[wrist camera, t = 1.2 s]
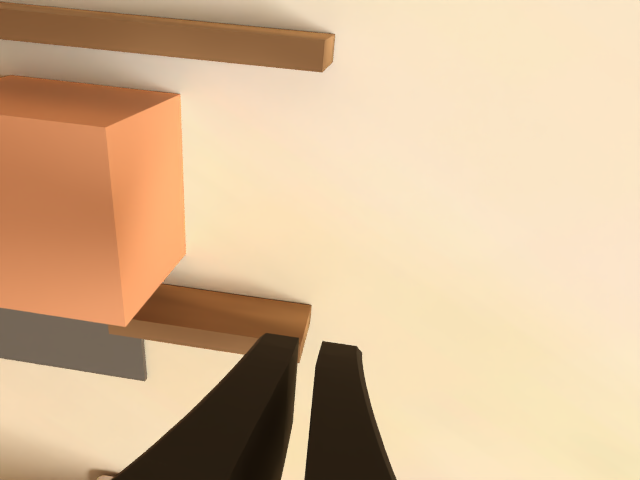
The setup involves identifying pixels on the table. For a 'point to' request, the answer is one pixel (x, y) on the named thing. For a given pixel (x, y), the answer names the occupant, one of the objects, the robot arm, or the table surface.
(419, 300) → the table surface
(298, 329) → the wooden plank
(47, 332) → the mats
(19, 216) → the block
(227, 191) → the table surface
